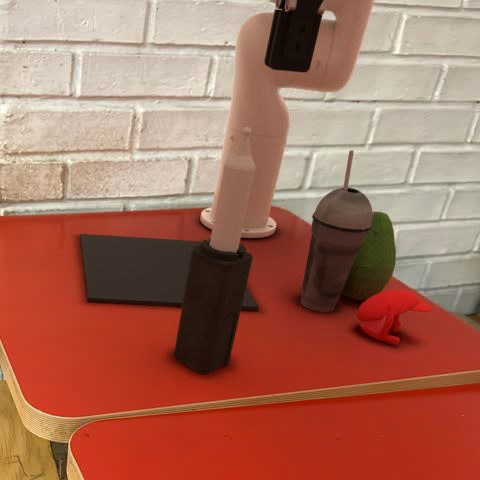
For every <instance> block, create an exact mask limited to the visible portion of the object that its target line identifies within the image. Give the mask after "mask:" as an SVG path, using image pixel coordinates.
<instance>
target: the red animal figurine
mask: <svg viewBox="0 0 480 480" xmlns="http://www.w3.org/2000/svg"><path fill="white" fill-rule="evenodd" d="M408 311H412V312H419V313H428V312H432V311H433V308H432V306H431V305H430V304H428V303H427V302H425V301H423V300H421V299H419V298H418V295H416V294H415V293H414V292H412V291H409V290H407V289H389V290H384V291H381V292H380V293H378V294H376V295H374V296H372V297H370V298H368V299H365V300H364V301H363V302H362V303H361V304H360V306H359V307H358V309H357V312H356V318H357V321H358V324H359V326H360V329H361V331H363V332H364V333H365V334H367V335H368V336H369V337H371V338H374V339H376V340H378V341H382V342H386V343H390V344H394V345H398V344H399V343H400V342H401V339H400V337H398V336H394V335H390V334H389V332H390V331H391V332H392V333H397V332H398V331H399V328H400V327H401V324H402V323H401V321H400V316H401V315H402V314H404V313H406V312H408Z"/></svg>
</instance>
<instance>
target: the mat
mask: <svg viewBox="0 0 480 480" xmlns="http://www.w3.org/2000/svg"><path fill="white" fill-rule="evenodd" d="M79 240H80V248H81V257H82V264H83V265H82V266H83V273H84V280H85V289H86V298H87V302H88V303H100V304H101V303H104V304H121V305H142V306H157V307H158V306H160V307H161V306H162V307H163V306H164V307H177V308H182V305H183V299H184V293H185V287H186V282H187V276H188V270H189V265H190V259H191V253H192V249H193V248H194V247H196V246H200V245H201V243H202V241H203V240H202V241H200V240H185V239H168V238H152V237H137V236H123V235H108V234H107V235H105V234H91V233H90V234H89V233H79ZM241 311H254V312H258V311H259V305H258V304H257V302H256V299H255V298H254V297H253V295H252V293H251V290H249V287H248V285H247V286H246V290H245V295H244V299H243V303H242V308H241Z"/></svg>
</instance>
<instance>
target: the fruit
mask: <svg viewBox="0 0 480 480" xmlns="http://www.w3.org/2000/svg"><path fill="white" fill-rule="evenodd" d="M396 258H397V249H396V241H395V232H394V225H393V222H392V220H391V217H390V216H389V215H388V213H385V212H382V211H373V210H372V222H371V230H369V232H368V235H367V237H366V238H365V240H364V242H363V243H362V244H361V247H360V249H359V251H358V254H357V256H356V259H355V261H354V263H353V266H352V268H351V271H350V273H349V276H348V278H347V280H346V283H345V285H344V288H343V290H342V292H341V294H343V295H344V296H346V297H347V298H349V299H352V300H354V301H366V300H367V299H368V298H370V297H372V296H374V295H376V294H378V293H381V292H383V290H384V289H385V288H386V287H387V285H388V284H389V282H390V281H391V279H392V277H393V275H394V271H395V267H396V261H397V260H396Z"/></svg>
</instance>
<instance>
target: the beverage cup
mask: <svg viewBox="0 0 480 480" xmlns="http://www.w3.org/2000/svg"><path fill="white" fill-rule="evenodd" d="M354 152H355V151H354V150H351V149H350V150H349V152H348V157H347V162H346V163H347V164H346V169H345V175H344V180H343V187H339V188H338V187H337V188H336V189H333V190H332V191H330V192H328V193H326V194H325V195H324V196H323V197H322V198H321V199H320V200H319V202H318V204H317V206H316V208H315V210H314V212H313V214H312V215H311V218H312V222H311V228H310V229H311V231H310V233H311V236H310V242H309V247H308V253H307V258H306V265H305V269H304V275H303V279H302V280H303V281H302V287H301V295H300V304H301V305H302V306H303V307H305V308H306V309H308V310H311V311H315V312H318V313H319V312H320V313H329V312H332V311H334V310H335V308H336V305H337V303H338V301H339V299H340V298H341V296H342V295H341V294H342V290H343V288H344V285H345V283H346V280H347V278H348V276H349V273H350V271H351V268H352V266H353V263H354V261H355V259H356V256H357V254H358V251H359V249H360V247H361V244H362V243H363V242H364V240H365V238H366V237H367V235H368V232H369V230H371V222H372V211H373V207H372V203H371V202H370V200H369V199H368V197H367V196H366V195H365V194H364V193H363V192H362V191H360V190H359V189H356V188H353V187H349V184H350V178H351V177H350V176H351V170H352V165H353V159H354Z"/></svg>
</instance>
